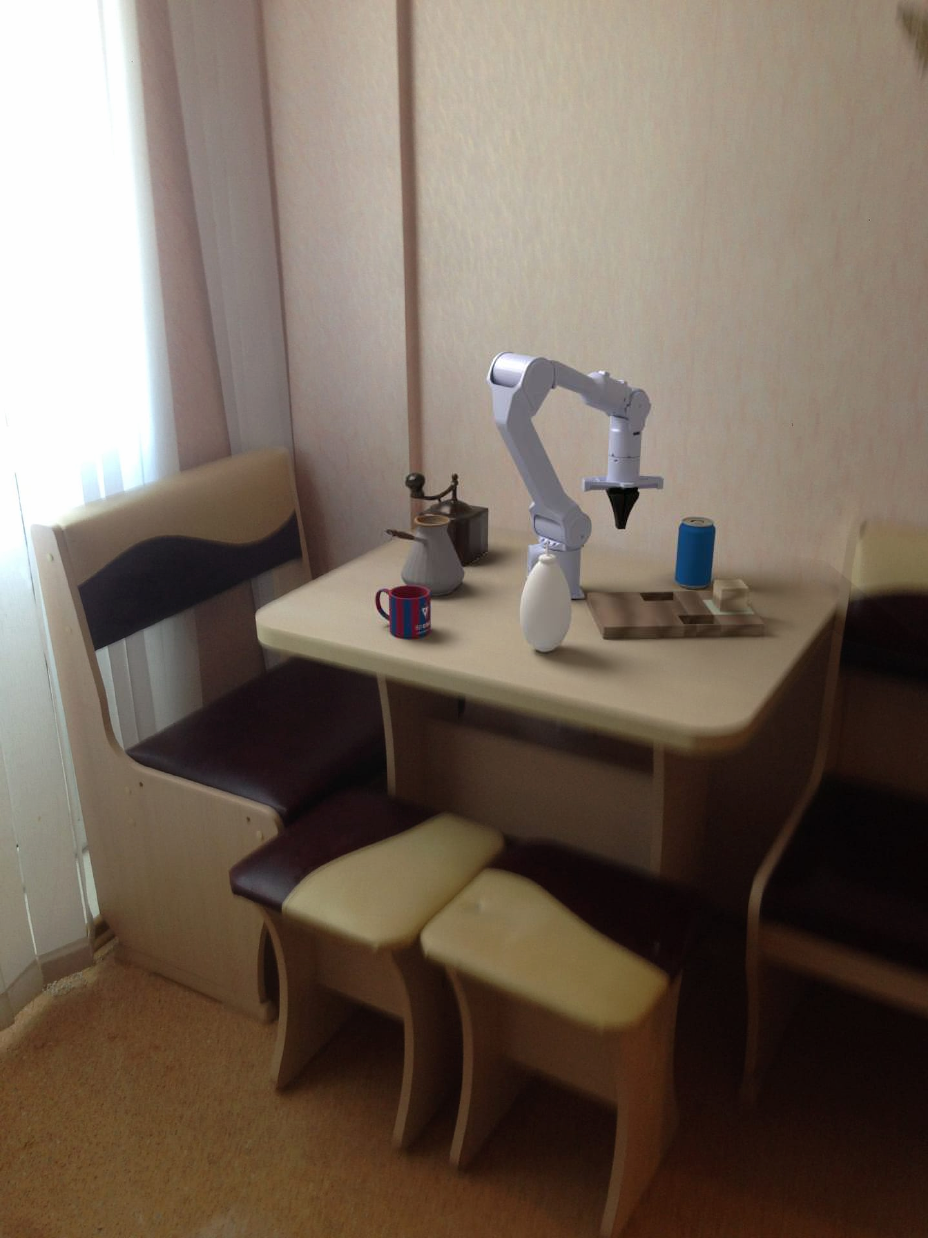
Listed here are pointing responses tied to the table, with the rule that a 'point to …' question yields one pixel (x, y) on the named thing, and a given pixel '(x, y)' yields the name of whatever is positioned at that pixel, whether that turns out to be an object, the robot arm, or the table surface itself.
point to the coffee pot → (431, 556)
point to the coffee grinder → (456, 518)
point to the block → (730, 595)
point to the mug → (407, 611)
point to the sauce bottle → (545, 605)
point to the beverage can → (695, 552)
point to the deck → (668, 615)
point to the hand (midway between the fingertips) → (620, 527)
